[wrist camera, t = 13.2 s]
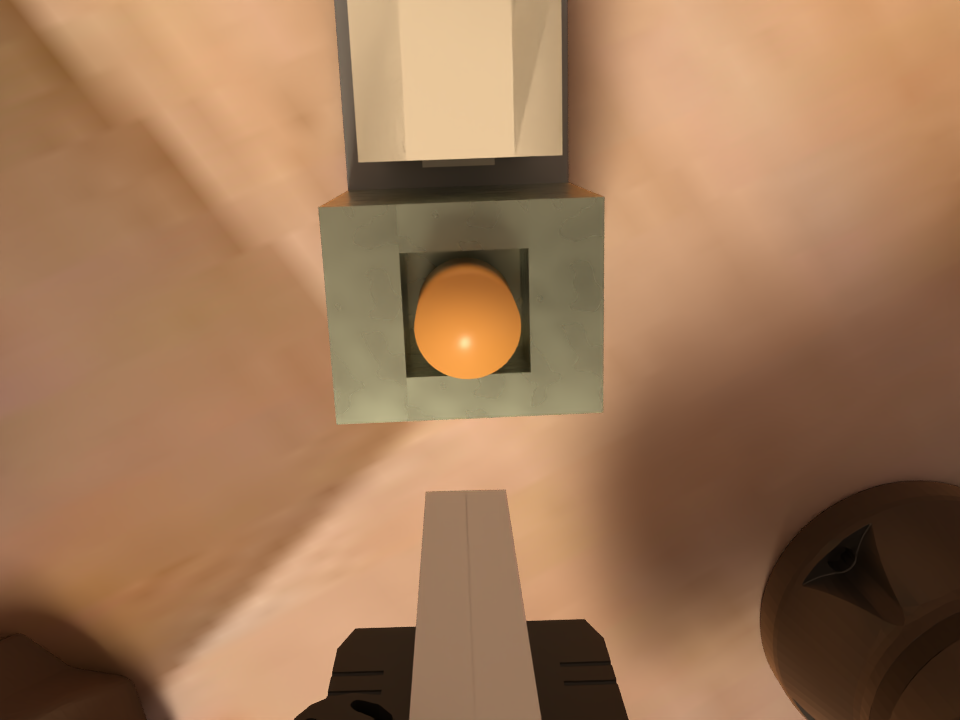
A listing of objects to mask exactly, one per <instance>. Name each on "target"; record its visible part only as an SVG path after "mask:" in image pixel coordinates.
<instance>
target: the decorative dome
mask: <svg viewBox="0 0 960 720" xmlns="http://www.w3.org/2000/svg"><path fill="white" fill-rule="evenodd" d="M0 720H147V719H146V716H145V713H144V711H143V708H142V705H141V702H140V700H139V697H138V694H137V691H136V689H135V686H134V684H133V683H132V682H131V680H129V679H128V678H126V677H124V676H119V675H113V674H108V673H102V672H96V671H90V670H84V669H78V668H73V667H70V666H68V665H67V664H65V663H64V662H62V661H61V660H60V659H58V658H57V657H55V656H54V655H52V654H51V653H49V652H48V651H47V650H45V649H44V648H42V647H41V646H39V645H38V644H36V643H35V642H33V641H32V640H30V639H29V638H28V637H26V636H25V635H23V634H15V635H12V636H10V637H8V638H5V639H2V640H0Z"/></svg>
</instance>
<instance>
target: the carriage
mask: <svg viewBox="0 0 960 720" xmlns="http://www.w3.org/2000/svg"><path fill="white" fill-rule="evenodd" d="M347 7H348V21H349V35H350V50H351V64H352V78H353V92H354V107H355V121H356V135H357V149H358V162H386V161H414V160H442V159H470V158H498V157H526V156H554V155H562V21H561V0H347Z"/></svg>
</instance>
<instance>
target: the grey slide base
mask: <svg viewBox="0 0 960 720" xmlns="http://www.w3.org/2000/svg"><path fill="white" fill-rule="evenodd" d="M334 5H335V19H336V32H337V46H338V59H339V73H340V86H341V100H342V113H343V127H344V140H345V154H346V167H347V181H348V190H370V189H397V188H424V187H452V186H479V185H507V184H534V183H561V182H568V0H561V21H562V155H554V156H526V157H498V158H470V159H442V160H414V161H386V162H358V149H357V135H356V121H355V107H354V92H353V78H352V64H351V50H350V35H349V21H348V7H347V0H334Z"/></svg>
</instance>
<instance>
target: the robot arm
mask: <svg viewBox="0 0 960 720" xmlns="http://www.w3.org/2000/svg"><path fill="white" fill-rule="evenodd" d="M760 629H761V639H762V644H763V649H764V652H765V655H766V658H767V661H768V663H769V665H770V668H771V669H772V671H773V673H774V675H775V677H776V678H777V680H778V681H779V683H780V685H781V686H782V688H783V690H784V691H785V693H786V695H787V696H788V698H789V699H790V701H791V702H792V704H793V705H794V706H795V707H796V709H797V710H798V711H799V712H800V713H801V714H802V715H803V716H804V717H805V718H806V719H807V720H960V487H958V486H955V485H951V484H946V483H940V482H933V481H905V482H897V483H890V484H886V485H881V486H877V487H874V488H871V489H867V490H865V491H862V492H859V493H857V494H855V495H852V496H850V497H848V498H846V499H844V500H842V501H840V502H838V503H837V504H835V505H833V506H832V507H830V508H828V509H827V510H826V511H824V512H823V513H821V514H820V515H819V516H817V517H816V518H815V519H814V520H812V521H811V522H810V523H809V524H808V525H807V526H806V527H804V528H803V529H802V530H801V532H800V533H799V534H798V535H797V536H796V537H795V538H794V539H793V540H792V542H791V543H790V544H789V545H788V547H787V548H786V549H785V551H784V552H783V554H782V555H781V557H780V558H779V560H778V562H777V563H776V565H775V567H774V569H773V571H772V573H771V576H770V578H769V580H768V583H767V586H766V589H765V593H764V596H763V601H762V606H761V615H760ZM294 720H629V719H628V716H627V713H626V710H625V706H624V703H623V700H622V697H621V693H620V690H619V687H618V684H617V683H616V677H615V674H614V670H613V667H612V665H611V661H610V657H609V654H608V651H607V648H606V644H605V641H604V638H603V637H602V636H601V635H600V634H599V633H598V632H597V631H596V630H595V629H594V628H593V627H592V626H591V625H590V624H589V623H588V622H587V621H586V620H585V619H577V620H544V621H526V617H525V611H524V604H523V598H522V592H521V585H520V579H519V572H518V566H517V559H516V553H515V546H514V540H513V534H512V527H511V521H510V514H509V508H508V501H507V495H506V490H472V491H433V492H426V496H425V509H424V523H423V537H422V551H421V564H420V578H419V592H418V605H417V619H416V627H391V628H358V629H355V630H354V631H353V632H352V633H351V634H350V635H349V637H348V638H347V639H346V640H345V641H344V642H343V643H342V644H341V646H340V647H339V648H338V649H337V653H336V658H335V662H334V667H333V671H332V677H331V680H330V685H329V689H328V696H327V698H326V699H324V700H321V701H319V702H317V703H314V704H312V705H310V706H309V707H308V708H307V709H305V710H304V711H303V712H302V713H300V714H299V715H298V716H297V717H296V718H295V719H294Z"/></svg>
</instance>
